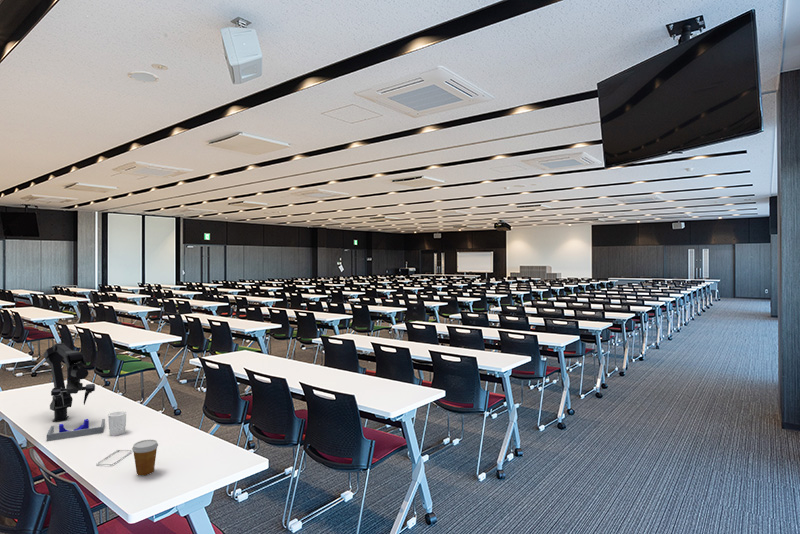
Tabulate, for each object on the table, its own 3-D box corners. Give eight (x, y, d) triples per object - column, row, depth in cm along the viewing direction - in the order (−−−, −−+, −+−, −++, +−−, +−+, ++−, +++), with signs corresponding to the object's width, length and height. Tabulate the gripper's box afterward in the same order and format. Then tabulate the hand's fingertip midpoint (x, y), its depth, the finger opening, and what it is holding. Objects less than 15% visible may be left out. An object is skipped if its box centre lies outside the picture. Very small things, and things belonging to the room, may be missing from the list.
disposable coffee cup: (138, 467, 199) (138, 439, 199) (162, 466, 200) (162, 438, 200) (127, 478, 190) (127, 448, 190) (152, 477, 191) (152, 447, 190)
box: (51, 431, 240) (51, 425, 240) (104, 424, 251) (104, 418, 251) (46, 441, 228) (46, 435, 228) (102, 432, 239) (102, 426, 239)
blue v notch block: (87, 429, 244) (87, 418, 244) (88, 432, 240) (88, 420, 240) (58, 435, 236) (58, 423, 236) (59, 438, 232) (59, 425, 232)
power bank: (112, 467, 201) (133, 452, 216) (112, 464, 201) (133, 449, 216) (95, 467, 201) (117, 452, 216) (95, 463, 201) (117, 449, 216)
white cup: (130, 431, 240) (129, 412, 240) (115, 437, 233) (114, 417, 233) (119, 429, 244) (119, 410, 243) (104, 434, 236) (104, 414, 236)
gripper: (49, 382, 237) (49, 413, 237) (93, 377, 246) (93, 407, 246) (52, 377, 246) (52, 406, 247) (95, 373, 256) (95, 401, 256)
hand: (73, 405), depth 249 cm, fingers open, 9 cm apart
